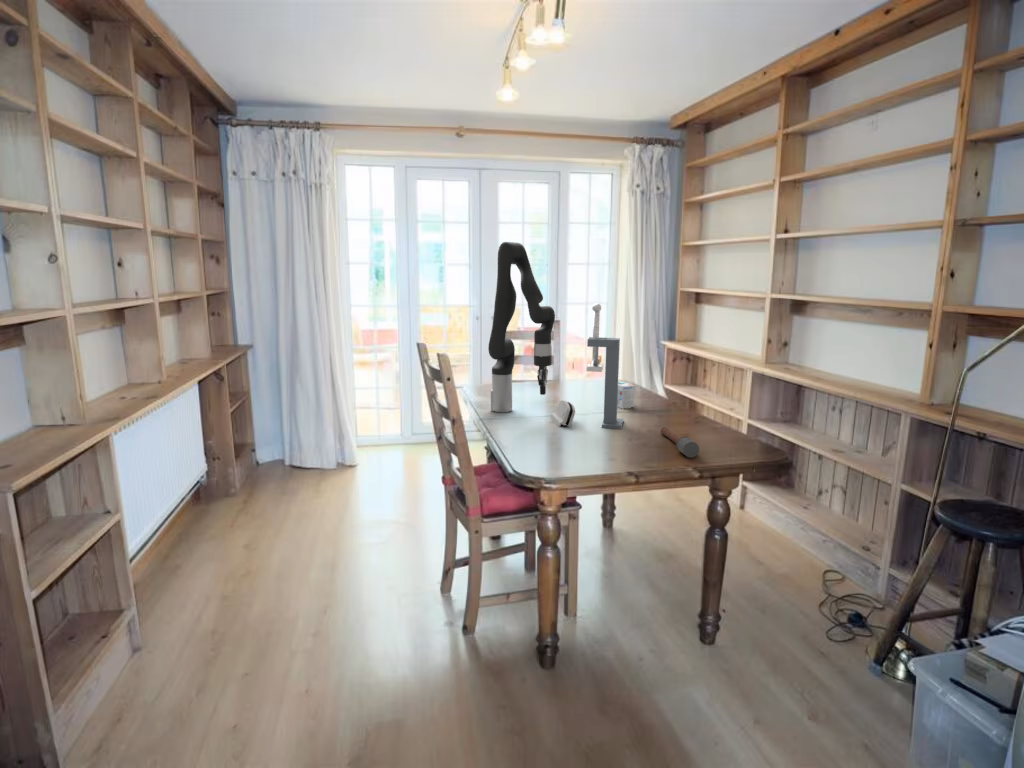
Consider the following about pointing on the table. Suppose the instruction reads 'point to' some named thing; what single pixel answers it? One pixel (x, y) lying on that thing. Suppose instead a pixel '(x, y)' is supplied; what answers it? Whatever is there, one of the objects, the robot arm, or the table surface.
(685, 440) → the mallet
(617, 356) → the press frame
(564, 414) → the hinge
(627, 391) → the light bulb box
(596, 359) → the ram
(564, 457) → the table surface
